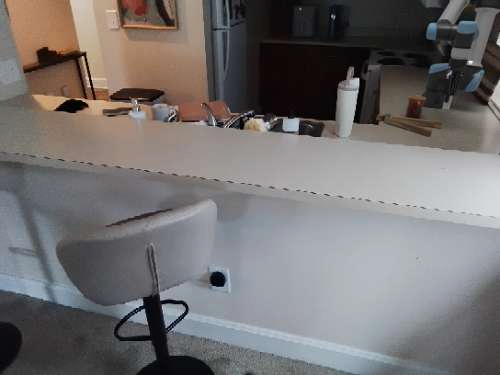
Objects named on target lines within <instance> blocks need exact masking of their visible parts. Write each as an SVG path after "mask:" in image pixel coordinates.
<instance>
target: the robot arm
mask: <svg viewBox="0 0 500 375" xmlns="http://www.w3.org/2000/svg"><path fill="white" fill-rule="evenodd" d="M466 7H475V8H474V11H475V12H476V15H475V19H474V21H471V20H461V21H459V23H458V24H456V22H457V20H458V19H459V17H460V15H461V14H462V11H464V9H465V8H466ZM498 13H500V0H449V3H448V4H447V6H446V7H445V9H444V10H443V12H442V14H441V16H440V17H439V19H438V20H437V22H430V23H429V25H428V26H427V29H426V33H425V34H426V39H427V40H432V41H445V42H451V43H453V45H452V49H451V53H450V58H449V60H448V62H446V63H445V62H444V63H443V62H442V63H434V64H432V65H430V68H429V71H428V75H427V80H426V84H425V88H424V91H423V93H422V95H421V96H422V97H425V98H426V100H425V102H424V104H423V107H424V108H425V107H427V108H433V109H443V110H450V106H451V104H452V100H453V96H454V97H456V94H457V92H458V91H462V92H475V91H476V90H477V89H478V87H479V86H480V83H481V81H482V80H483V77H484V74H485V70H483V67H484V66H483V65H482V59H483V56H484V53H485V50H486V47H487V43H488V41H489V37H490V34H491V31H492V27H493V25H494V21H495V18H496V15H497V14H498Z"/></svg>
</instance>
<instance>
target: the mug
mask: <svg viewBox="0 0 500 375" xmlns="http://www.w3.org/2000/svg"><path fill="white" fill-rule="evenodd" d="M425 100H426V98H425V97H422V95H414V94H413V95H408V96H407V102H408V103H407V108H406V111H405V112H406V113H405V116H406V118H414V119H420V117H421V116H422V112H423V109H424V108H423V107H424V106H423V104H424V102H425Z"/></svg>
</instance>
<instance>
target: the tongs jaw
mask: <svg viewBox="0 0 500 375" xmlns="http://www.w3.org/2000/svg"><path fill="white" fill-rule="evenodd" d="M391 118H393V119H397V120H400V121H403V122H407V123H410V124H413V125H417V126H421V127H431V128H436V129H441V128H442V124H443V120H429V119H420V118H409V117H404V116H395V115H391Z"/></svg>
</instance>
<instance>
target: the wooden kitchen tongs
mask: <svg viewBox="0 0 500 375" xmlns="http://www.w3.org/2000/svg"><path fill="white" fill-rule="evenodd" d="M375 120H376V121H380V122H381V121H383V122H384V123H386V124H389V125H392V126H396V127H399V128H401V129H406V130H408V131H411V132H415V133H418V134H421V135H425V136H428V137H429V136H432V133H433V130H432V129H430V128H427V127H424V126H421V125H414V124H410V123H407V122H403V121H400V120H397V119H393V118H392V114H390V113H380V114H377V115H376V119H375Z"/></svg>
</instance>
